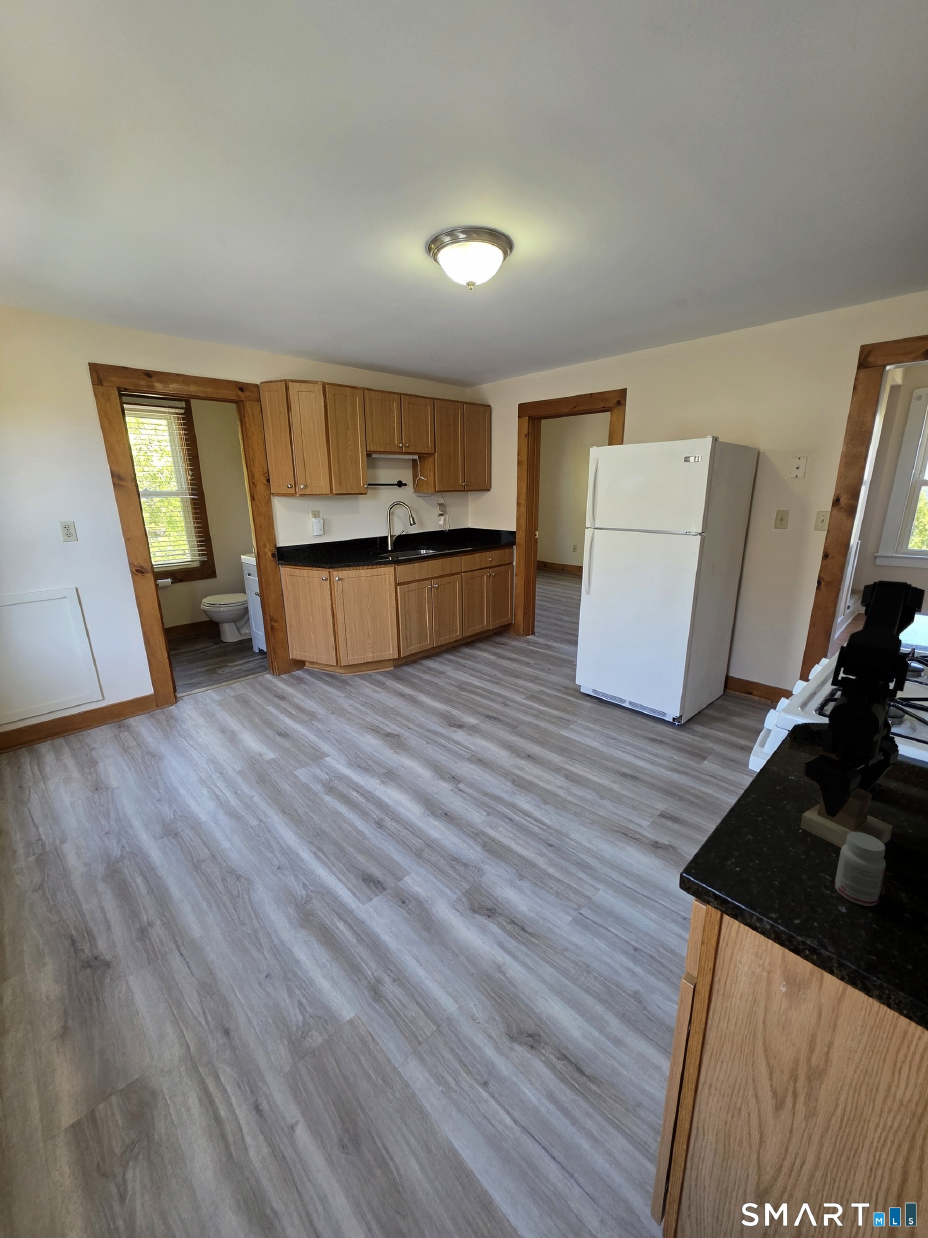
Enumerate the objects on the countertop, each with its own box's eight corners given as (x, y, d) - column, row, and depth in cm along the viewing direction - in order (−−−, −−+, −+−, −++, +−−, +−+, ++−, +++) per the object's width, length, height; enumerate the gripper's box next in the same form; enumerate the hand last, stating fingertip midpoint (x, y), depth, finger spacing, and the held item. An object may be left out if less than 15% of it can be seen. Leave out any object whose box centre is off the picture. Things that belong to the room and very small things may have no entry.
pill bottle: (886, 910, 64) (898, 855, 62) (846, 904, 65) (856, 850, 63) (865, 883, 68) (875, 832, 66) (827, 879, 69) (836, 827, 67)
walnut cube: (831, 805, 82) (836, 779, 81) (866, 820, 78) (872, 793, 77) (817, 814, 80) (822, 788, 79) (853, 831, 76) (858, 803, 74)
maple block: (826, 813, 85) (828, 798, 84) (889, 842, 77) (892, 826, 77) (799, 830, 81) (802, 814, 80) (864, 862, 73) (867, 845, 72)
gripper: (828, 692, 87) (816, 769, 90) (774, 714, 78) (762, 800, 81) (908, 713, 77) (890, 798, 81) (856, 742, 68) (839, 837, 72)
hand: (843, 807), depth 79 cm, fingers open, 9 cm apart
